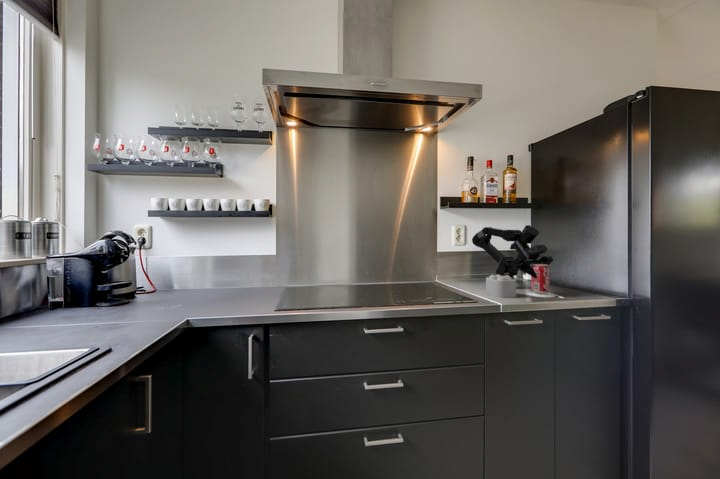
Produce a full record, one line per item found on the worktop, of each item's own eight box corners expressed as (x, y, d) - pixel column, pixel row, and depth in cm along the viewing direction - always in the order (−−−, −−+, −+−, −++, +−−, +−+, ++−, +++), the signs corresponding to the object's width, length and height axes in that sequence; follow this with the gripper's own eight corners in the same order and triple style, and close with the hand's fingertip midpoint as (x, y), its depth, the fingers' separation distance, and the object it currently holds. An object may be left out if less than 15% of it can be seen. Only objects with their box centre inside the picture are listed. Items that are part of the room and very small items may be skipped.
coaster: (524, 295, 137) (524, 294, 137) (528, 292, 146) (528, 290, 146) (554, 298, 130) (554, 297, 130) (555, 294, 139) (556, 293, 139)
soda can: (549, 291, 139) (549, 264, 139) (549, 294, 133) (550, 265, 133) (531, 289, 143) (531, 263, 143) (530, 292, 137) (531, 264, 137)
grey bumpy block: (497, 298, 131) (498, 277, 131) (479, 292, 144) (480, 273, 144) (519, 297, 133) (519, 276, 133) (500, 292, 146) (500, 273, 146)
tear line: (547, 293, 143) (547, 292, 143) (549, 293, 143) (549, 292, 143) (562, 298, 131) (562, 297, 131) (564, 298, 131) (564, 297, 131)
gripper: (516, 238, 139) (536, 265, 128) (550, 238, 144) (572, 265, 134) (503, 254, 147) (521, 282, 136) (536, 254, 152) (555, 280, 141)
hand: (543, 277), depth 137 cm, fingers closed on soda can, 7 cm apart
